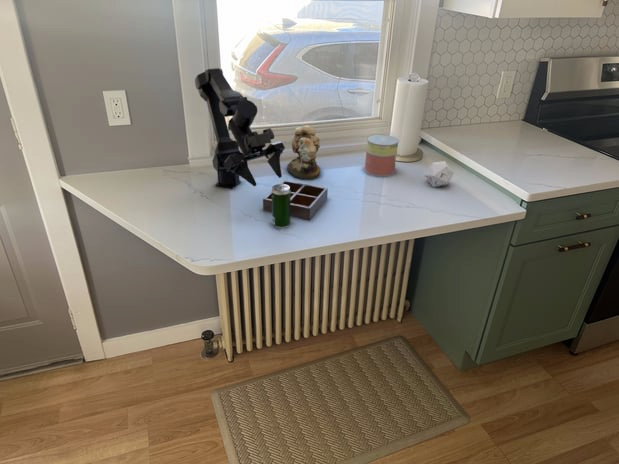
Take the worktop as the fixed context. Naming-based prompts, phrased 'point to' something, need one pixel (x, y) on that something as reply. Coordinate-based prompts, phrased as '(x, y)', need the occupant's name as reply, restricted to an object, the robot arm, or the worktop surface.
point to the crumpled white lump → (439, 174)
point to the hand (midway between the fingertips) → (268, 181)
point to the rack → (301, 199)
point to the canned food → (381, 155)
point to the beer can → (281, 206)
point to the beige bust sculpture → (305, 154)
